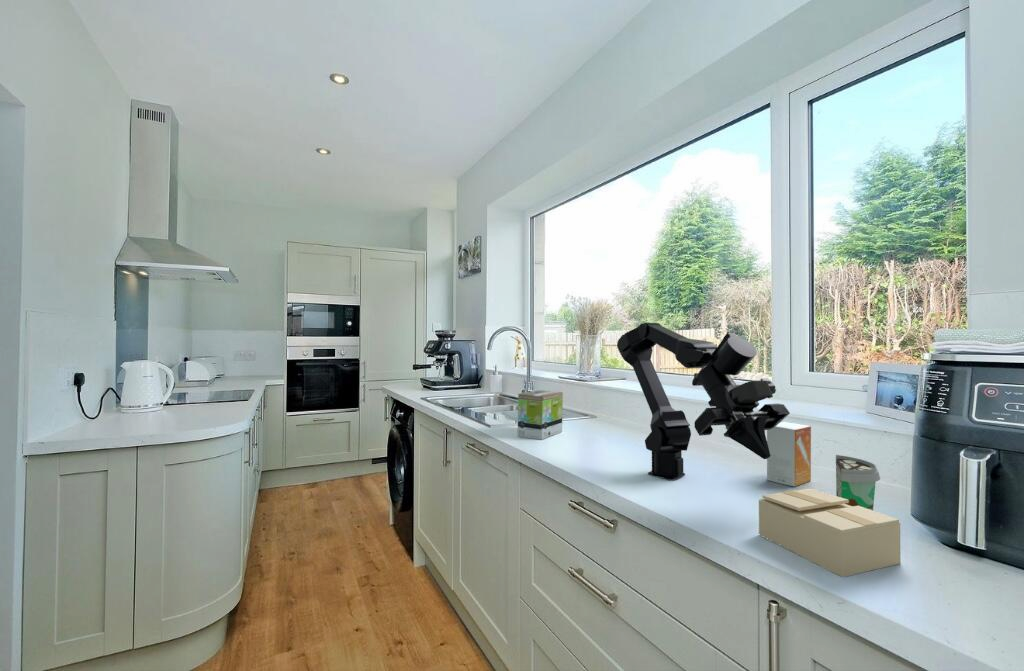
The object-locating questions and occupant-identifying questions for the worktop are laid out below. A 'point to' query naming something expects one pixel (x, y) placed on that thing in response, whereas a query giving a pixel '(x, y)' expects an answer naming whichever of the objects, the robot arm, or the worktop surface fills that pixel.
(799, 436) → the small box
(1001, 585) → the worktop surface
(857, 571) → the carton
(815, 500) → the lid flap
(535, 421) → the tea box
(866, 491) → the food container
